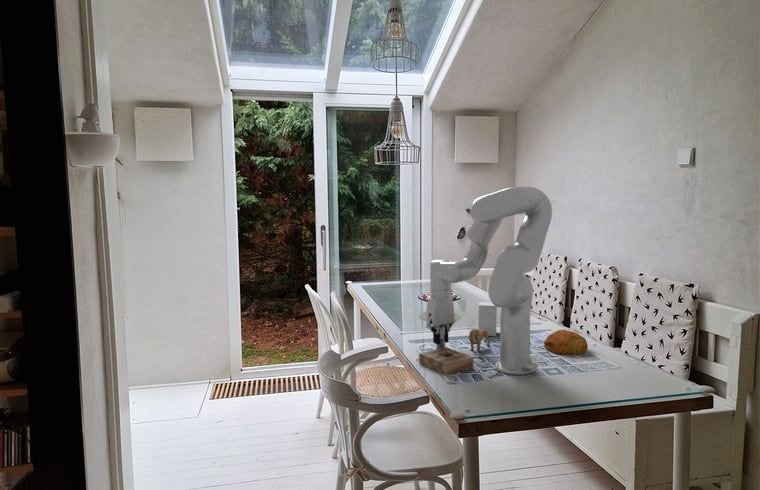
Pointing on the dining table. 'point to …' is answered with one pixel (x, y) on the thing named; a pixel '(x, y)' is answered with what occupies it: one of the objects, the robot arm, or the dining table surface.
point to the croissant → (566, 343)
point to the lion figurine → (478, 338)
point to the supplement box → (487, 317)
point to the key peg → (441, 337)
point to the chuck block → (446, 360)
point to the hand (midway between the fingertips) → (440, 342)
